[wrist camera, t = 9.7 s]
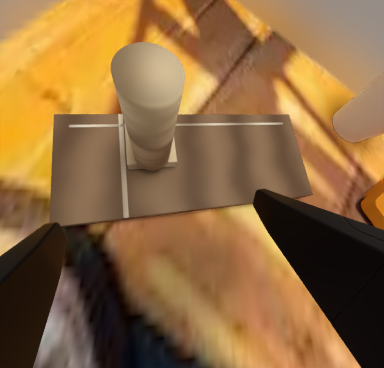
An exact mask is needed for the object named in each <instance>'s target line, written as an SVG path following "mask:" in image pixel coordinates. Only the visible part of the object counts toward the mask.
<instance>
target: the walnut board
mask: <svg viewBox="0 0 384 368" xmlns="http://www.w3.org/2000/svg"><path fill="white" fill-rule="evenodd" d="M174 141H175V149H176V157H177V164H176V167H163V168H161V169H159V170H154V171H151V170H146V169H131V170H129V168H128V166H127V155H126V138H125V122H124V118H123V114H54V128H53V152H52V176H51V201H50V223H53V222H58V223H59V224H60V226H61V228H62V227H70V226H78V225H86V224H94V223H102V222H110V221H118V220H126V219H134V218H142V217H150V216H158V215H166V214H174V213H182V212H190V211H198V210H206V209H214V208H222V207H230V206H238V205H246V204H253V200H254V196H255V192H256V190H258V189H267V190H270V191H273V192H276V193H279V194H281V195H284V196H287V197H290V198H293V199H294V198H302V197H306V196H310V195H313V194H312V190H311V187H310V184H309V180H308V177H307V174H306V170H305V167H304V164H303V160H302V157H301V154H300V150H299V147H298V144H297V140H296V137H295V134H294V130H293V127H292V124H291V120H290V117H289V115H178V117H177V122H176V127H175V132H174Z"/></svg>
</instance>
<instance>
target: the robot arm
mask: <svg viewBox="0 0 384 368" xmlns="http://www.w3.org/2000/svg"><path fill="white" fill-rule="evenodd" d="M253 206H254V208H255V210H256V212H257V214H258V215H259V217H260V219H261V221H262V223H263V225H264V226H265V228H266V230H267V231H268V233H269V235H270V236H271V237H272V239H273V240H274V242H275V243H276V245H277V246H278V248H279V249H280V250H281V252H282V253H283V255H284V256H285V258H286V259H287V261H288V262H289V263H290V265H291V266H292V268H293V269H294V271H295V272H296V274H297V275H298V276H299V278H300V279H301V281H302V282H303V284H304V285H305V287H306V288H307V290H308V291H309V292H310V294H311V295H312V297H313V298H314V300H315V301H316V303H317V304H318V305H319V307H320V308H321V310H322V311H323V313H324V314H325V316H326V317H327V318H328V320H329V321H330V322H331V324H332V326H333V327H334V329H335V330H336V332H337V333H338V335H339V336H340V337H341V339H342V340H343V342H344V343H345V345H346V346H347V348H348V349H349V350H350V352H351V353H352V355H353V356H354V358H355V359H356V361H357V362H358V364H359V365H360V366H361V368H384V230H383V229H380V228H376V227H373V226H370V225H367V224H364V223H361V222H358V221H355V220H352V219H350V218H347V217H344V216H343V217H342V216H341V215H338V214H335V213H332V212H330V211H327V210H324V209H321V208H318V207H315V206H313V205H310V204H307V203H304V202H301V201H298V200H296V199H293V198H290V197H287V196H284V195H281V194H279V193H276V192H273V191H270V190H267V189H258V190H256V192H255V196H254V200H253ZM65 247H66V236H65V234H64V232H63V230H62V228H61V226H60V224H59V223H58V222H53V223H47V224H44V225H43V226H41V227H40V228H39V229H37V230H36V231H35V232H33V233H32V234H30V235H29V236H28V237H26V238H25V239H23V240H22V241H21V242H19V243H18V244H17V245H15V246H14V247H12V248H11V249H10V250H8V251H7V252H5V253H4V254H3V255H1V256H0V368H33V365H34V362H35V359H36V356H37V352H38V349H39V346H40V342H41V339H42V336H43V332H44V329H45V326H46V323H47V319H48V316H49V313H50V309H51V306H52V303H53V299H54V296H55V293H56V290H57V286H58V283H59V279H60V275H61V270H62V264H63V258H64V253H65Z"/></svg>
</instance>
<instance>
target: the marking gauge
mask: <svg viewBox="0 0 384 368" xmlns="http://www.w3.org/2000/svg"><path fill="white" fill-rule="evenodd" d="M111 73H112V77H113V81H114V84H115V88H116V92H117V95H118V99H119V103H120V107H121V110H122V114H123V118H124V122H125V138H126V155H127V166H128V168H129V170H131V169H146V170H151V171H154V170H159V169H161V168H163V167H176V164H177V157H176V149H175V141H174V132H175V127H176V122H177V117H178V112H179V107H180V102H181V97H182V92H183V87H184V82H185V71H184V68H183V65H182V63H181V62H180V60H179V59H178V58H177V57H176V56H175V55H174V54H173V53H172V52H171V51H169V50H168V49H166V48H164V47H162V46H159V45H156V44H153V43H145V42H140V43H133V44H129V45H127V46H125V47H123V48H121V49H120V50H119V51H118V52H117V53H116V54H115V56H114V57H113V59H112V63H111Z"/></svg>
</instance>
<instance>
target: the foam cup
mask: <svg viewBox="0 0 384 368" xmlns="http://www.w3.org/2000/svg"><path fill="white" fill-rule="evenodd" d="M332 123H333V126H334V129H335V131H336V132H337V133H338V135H339V136H340V137H341V138H343V139H344V140H345V141H348V142H351V143H355V142H359V141H362V140H366V139H369V138H372V137H375V136H378V135H381V134H384V72H383V73H382V74H381V75H380V76H379V77H377V78H376V79H375V80H374V81H373V82H371V83H370V84H369V85H368V86H367V87H365V88H364V89H363V90H362V91H361V92H359V93H358V94H357V95H356V96H355V97H353V98H352V99H351V100H350V101H349V102H347V103H346V104H345V105H344V106H343V107H341V108H340V109H339V110H338V111H337V112H336V113H335V114H334V115H333V120H332Z"/></svg>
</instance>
